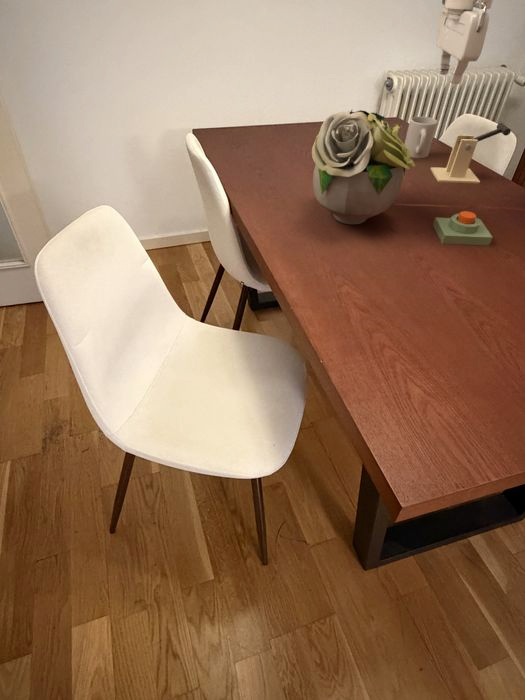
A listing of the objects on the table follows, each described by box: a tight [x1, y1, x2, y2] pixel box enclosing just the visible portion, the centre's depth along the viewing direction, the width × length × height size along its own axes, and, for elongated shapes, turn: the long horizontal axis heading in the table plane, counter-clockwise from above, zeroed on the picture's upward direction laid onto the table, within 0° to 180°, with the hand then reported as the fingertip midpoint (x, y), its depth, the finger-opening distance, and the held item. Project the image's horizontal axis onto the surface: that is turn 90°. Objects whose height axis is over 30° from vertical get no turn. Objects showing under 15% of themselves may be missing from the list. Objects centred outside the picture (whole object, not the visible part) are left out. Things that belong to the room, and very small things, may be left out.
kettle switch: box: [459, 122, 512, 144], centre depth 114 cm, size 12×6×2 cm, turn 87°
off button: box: [458, 210, 477, 224], centre depth 95 cm, size 4×4×2 cm
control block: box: [432, 213, 493, 246], centre depth 97 cm, size 11×9×4 cm
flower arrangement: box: [311, 109, 416, 225], centre depth 95 cm, size 25×25×24 cm
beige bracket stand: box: [430, 134, 481, 185], centre depth 118 cm, size 12×10×12 cm
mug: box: [404, 116, 438, 159], centre depth 131 cm, size 12×8×11 cm
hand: (448, 78), depth 90 cm, fingers open, 8 cm apart
